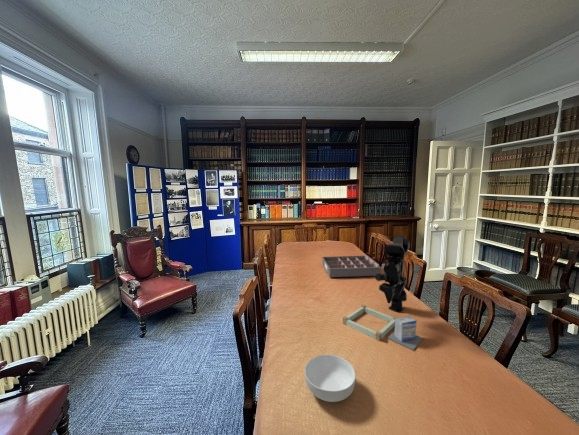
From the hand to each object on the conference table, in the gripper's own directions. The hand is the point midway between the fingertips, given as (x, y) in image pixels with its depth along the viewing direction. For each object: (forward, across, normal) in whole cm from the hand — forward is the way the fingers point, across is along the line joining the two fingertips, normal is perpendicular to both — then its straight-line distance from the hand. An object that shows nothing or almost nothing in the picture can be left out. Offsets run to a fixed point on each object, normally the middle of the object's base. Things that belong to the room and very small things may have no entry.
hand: (392, 299), depth 119 cm
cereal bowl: (+12, +55, +3) cm, 56 cm away
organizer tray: (+13, -49, -57) cm, 76 cm away
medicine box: (+12, +9, +10) cm, 18 cm away
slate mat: (+12, +9, +10) cm, 18 cm away
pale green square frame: (+12, +9, -7) cm, 17 cm away
